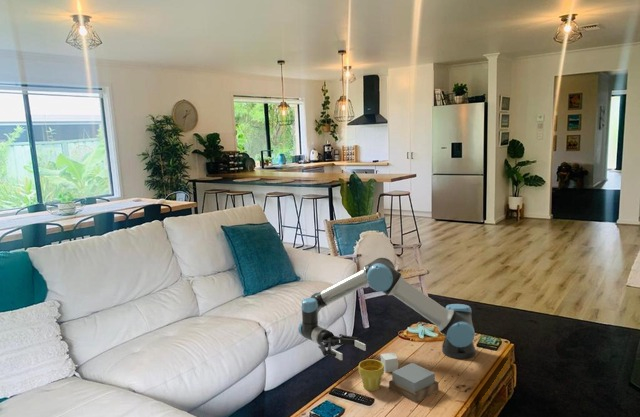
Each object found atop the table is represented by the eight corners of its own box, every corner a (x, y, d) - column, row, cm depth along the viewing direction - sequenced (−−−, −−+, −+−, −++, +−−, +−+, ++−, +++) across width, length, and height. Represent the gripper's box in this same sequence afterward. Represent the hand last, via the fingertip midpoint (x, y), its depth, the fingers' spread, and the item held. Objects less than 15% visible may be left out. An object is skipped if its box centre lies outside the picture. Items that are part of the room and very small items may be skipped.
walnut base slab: (411, 378, 197) (411, 370, 197) (438, 391, 186) (438, 382, 186) (389, 390, 189) (389, 381, 188) (415, 404, 178) (415, 394, 177)
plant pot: (383, 394, 185) (382, 371, 184) (357, 392, 187) (357, 370, 186) (385, 381, 195) (384, 359, 194) (360, 379, 197) (360, 358, 196)
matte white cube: (380, 366, 208) (380, 354, 208) (393, 364, 210) (392, 352, 209) (385, 372, 202) (385, 359, 202) (398, 370, 204) (397, 358, 203)
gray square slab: (412, 371, 195) (412, 362, 195) (434, 382, 186) (434, 373, 185) (392, 381, 188) (392, 371, 188) (414, 392, 179) (414, 383, 178)
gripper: (343, 337, 222) (374, 351, 205) (301, 352, 207) (331, 369, 190) (343, 322, 221) (374, 335, 204) (301, 337, 206) (331, 352, 189)
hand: (353, 352), depth 197 cm, fingers open, 13 cm apart
